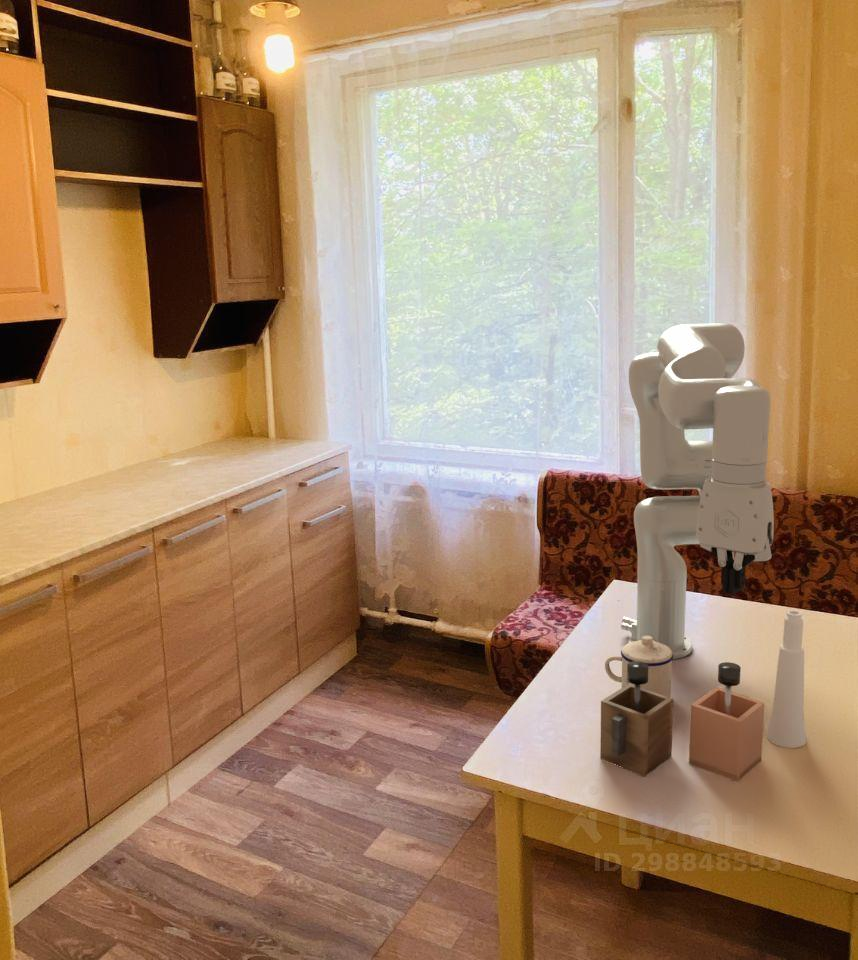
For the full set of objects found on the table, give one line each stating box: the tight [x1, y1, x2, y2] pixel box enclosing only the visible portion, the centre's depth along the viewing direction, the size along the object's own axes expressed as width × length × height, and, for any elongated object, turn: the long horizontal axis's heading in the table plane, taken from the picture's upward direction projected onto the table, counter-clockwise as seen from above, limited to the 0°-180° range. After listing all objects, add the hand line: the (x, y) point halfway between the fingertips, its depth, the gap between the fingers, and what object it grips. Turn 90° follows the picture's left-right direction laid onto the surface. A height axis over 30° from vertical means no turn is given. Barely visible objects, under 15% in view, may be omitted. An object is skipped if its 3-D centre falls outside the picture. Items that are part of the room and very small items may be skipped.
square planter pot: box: [688, 686, 766, 783], centre depth 137 cm, size 8×10×10 cm
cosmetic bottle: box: [765, 609, 807, 749], centre depth 141 cm, size 6×6×22 cm
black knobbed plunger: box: [717, 661, 741, 715], centre depth 135 cm, size 6×6×14 cm
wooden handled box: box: [599, 684, 674, 778], centre depth 138 cm, size 8×10×10 cm
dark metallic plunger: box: [627, 661, 649, 712], centre depth 138 cm, size 6×6×14 cm
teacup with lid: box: [604, 636, 674, 698], centre depth 158 cm, size 12×9×12 cm
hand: (732, 591), depth 131 cm, fingers closed
